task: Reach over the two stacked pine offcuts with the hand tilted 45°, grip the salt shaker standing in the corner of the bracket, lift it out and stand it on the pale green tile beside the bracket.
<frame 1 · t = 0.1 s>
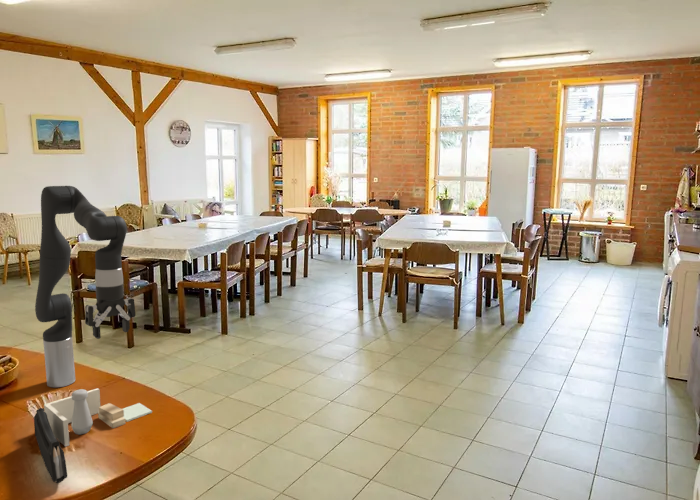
hand: (111, 334, 158), 29 cm above the table, tool pointing down, fingers open, 8 cm apart
magazine: (50, 462, 143), on the table
bracket: (82, 431, 159), on the table
offcut short: (111, 414, 165), point 2 cm above the table, touching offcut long
salt shaker: (82, 431, 159), on the table
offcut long: (111, 422, 165), on the table, touching offcut short
tile: (133, 412, 171), on the table
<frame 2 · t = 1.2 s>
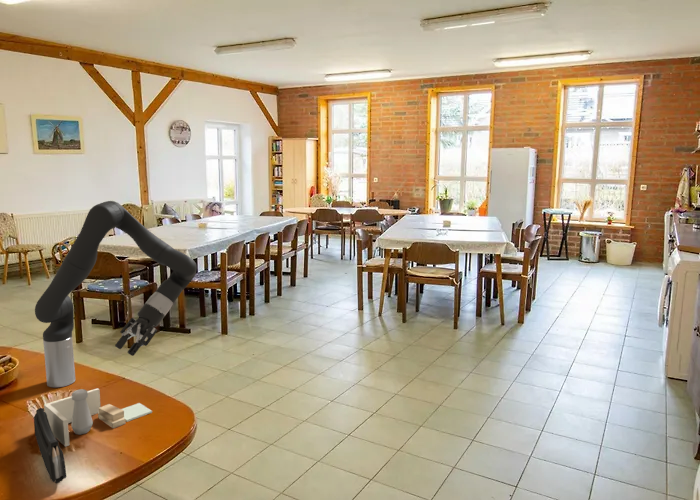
hand: (123, 351, 165), 22 cm above the table, tool tilted 45°, fingers open, 8 cm apart
nothing on the table moved.
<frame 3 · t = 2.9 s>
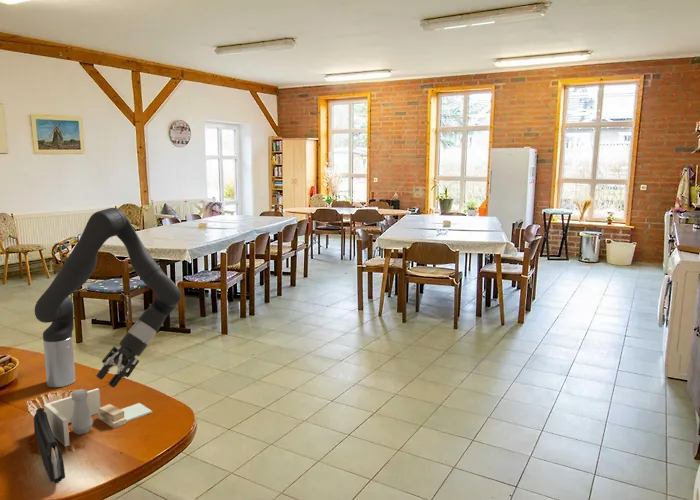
hand: (104, 382, 162), 13 cm above the table, tool tilted 45°, fingers open, 8 cm apart
nothing on the table moved.
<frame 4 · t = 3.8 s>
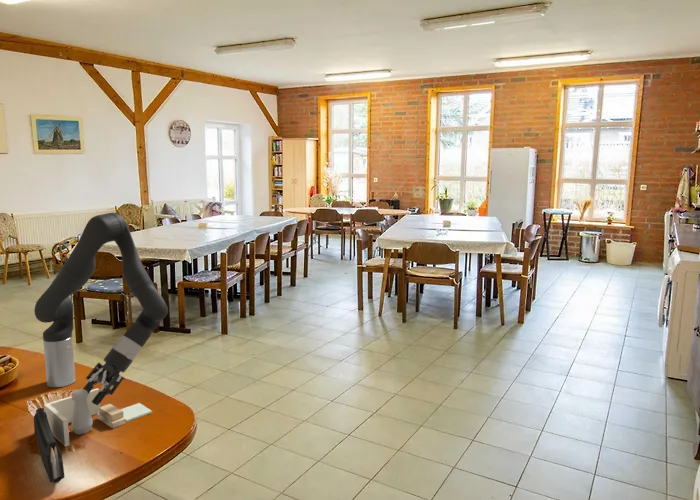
hand: (88, 399, 159), 9 cm above the table, tool tilted 45°, fingers open, 8 cm apart
nothing on the table moved.
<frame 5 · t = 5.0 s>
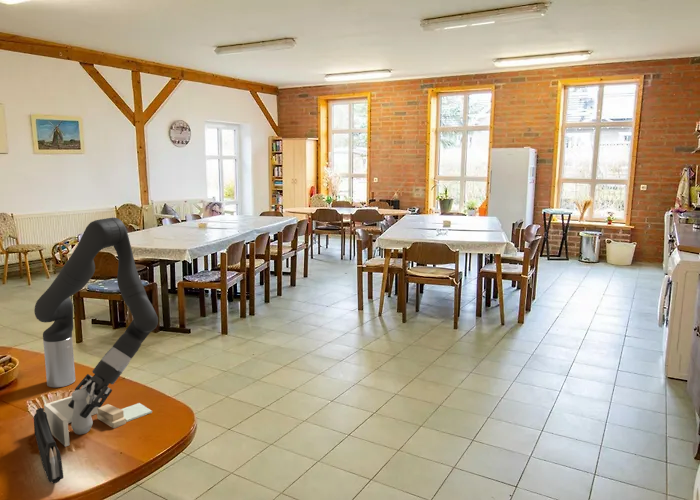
hand: (76, 412, 157), 7 cm above the table, tool tilted 45°, fingers open, 8 cm apart
nothing on the table moved.
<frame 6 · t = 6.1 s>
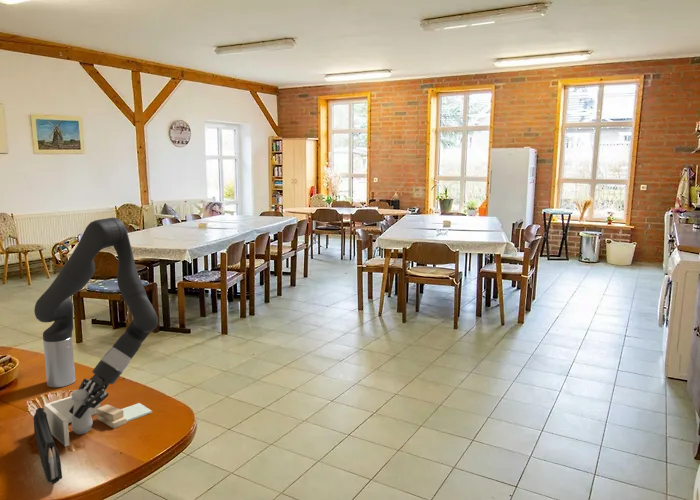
hand: (74, 415, 156), 6 cm above the table, tool tilted 45°, fingers closed on salt shaker, 3 cm apart
salt shaker: (82, 431, 159), on the table, touching gripper
everything else where it was.
when the fingers open (8 cm above the table, at t = 12.3 s): salt shaker moves 1 cm, resting on tile.
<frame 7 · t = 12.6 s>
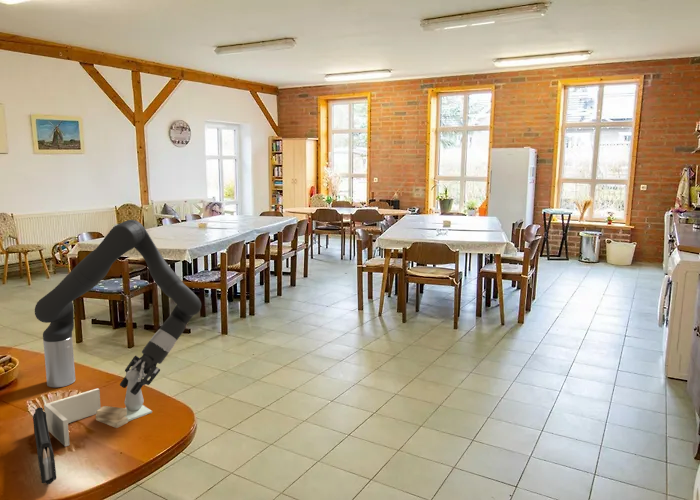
hand: (127, 390, 168), 8 cm above the table, tool tilted 45°, fingers open, 6 cm apart
salt shaker: (134, 409, 172), resting on tile
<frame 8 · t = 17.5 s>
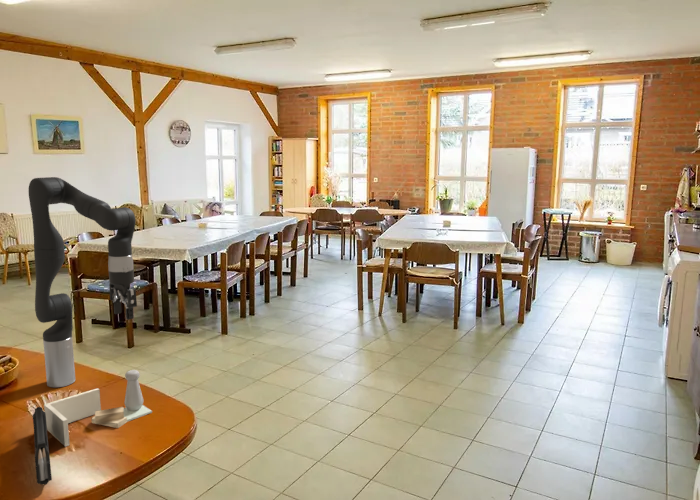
hand: (123, 316, 174), 30 cm above the table, tool pointing down, fingers open, 8 cm apart
at the end: salt shaker inside the target area on the tile (1.8 cm from its centre), point 0.4 cm above the tile's base; salt shaker tilted 0°; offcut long moved 1.4 cm from its start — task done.
